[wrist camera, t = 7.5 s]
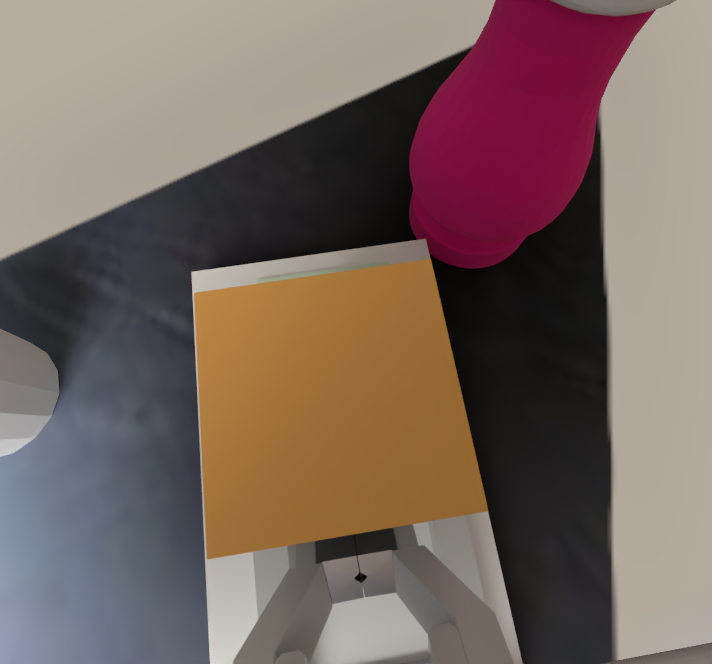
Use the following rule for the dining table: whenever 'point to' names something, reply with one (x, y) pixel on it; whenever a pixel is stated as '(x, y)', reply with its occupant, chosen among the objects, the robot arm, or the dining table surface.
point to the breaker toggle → (329, 409)
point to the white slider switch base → (268, 567)
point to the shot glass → (24, 391)
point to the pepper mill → (516, 125)
